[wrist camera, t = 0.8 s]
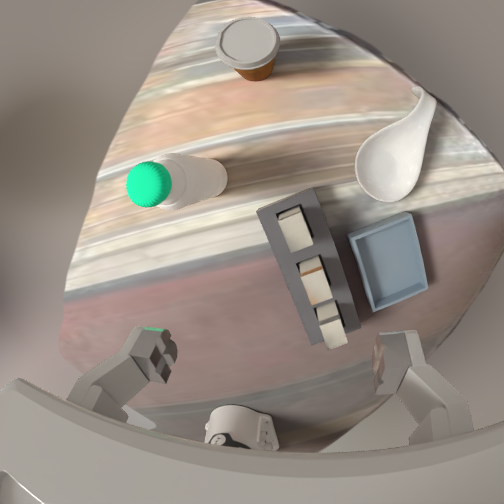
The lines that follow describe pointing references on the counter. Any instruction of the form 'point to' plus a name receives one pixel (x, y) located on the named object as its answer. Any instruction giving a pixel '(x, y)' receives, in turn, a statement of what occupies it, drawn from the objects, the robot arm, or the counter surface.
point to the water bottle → (175, 181)
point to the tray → (389, 260)
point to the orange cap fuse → (314, 280)
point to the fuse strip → (320, 247)
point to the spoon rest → (396, 153)
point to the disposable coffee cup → (248, 47)
